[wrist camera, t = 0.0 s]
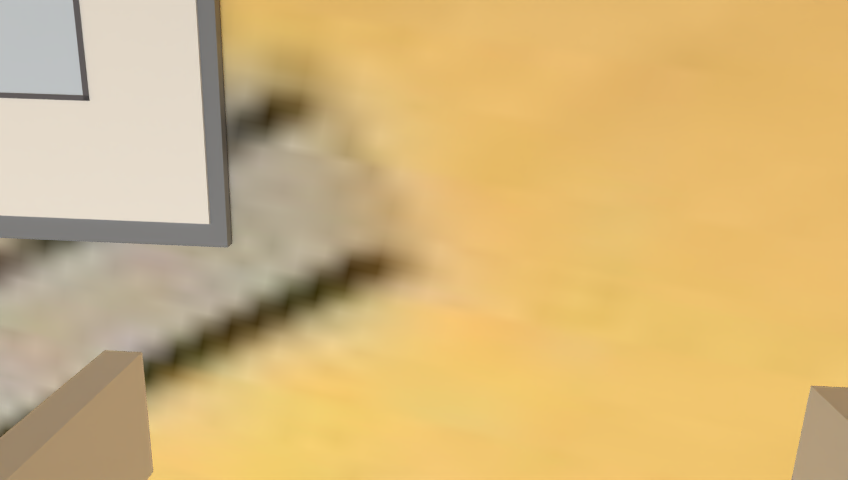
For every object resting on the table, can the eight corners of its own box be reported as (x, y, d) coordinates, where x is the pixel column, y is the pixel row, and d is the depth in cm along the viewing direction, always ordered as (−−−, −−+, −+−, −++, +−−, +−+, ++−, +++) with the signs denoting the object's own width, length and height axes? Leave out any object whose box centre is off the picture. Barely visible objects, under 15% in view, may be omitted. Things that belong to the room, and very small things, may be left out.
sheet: (-166, -279, 35) (-186, -289, 34) (205, -276, 34) (196, -286, 33) (-74, 230, 43) (-88, 235, 42) (231, 243, 42) (225, 248, 41)
